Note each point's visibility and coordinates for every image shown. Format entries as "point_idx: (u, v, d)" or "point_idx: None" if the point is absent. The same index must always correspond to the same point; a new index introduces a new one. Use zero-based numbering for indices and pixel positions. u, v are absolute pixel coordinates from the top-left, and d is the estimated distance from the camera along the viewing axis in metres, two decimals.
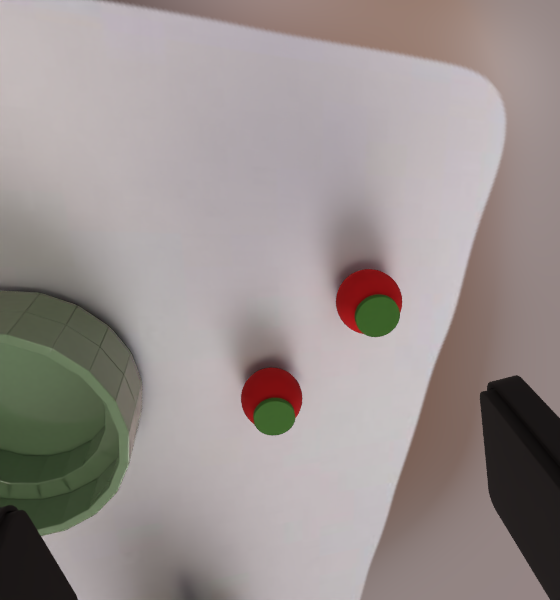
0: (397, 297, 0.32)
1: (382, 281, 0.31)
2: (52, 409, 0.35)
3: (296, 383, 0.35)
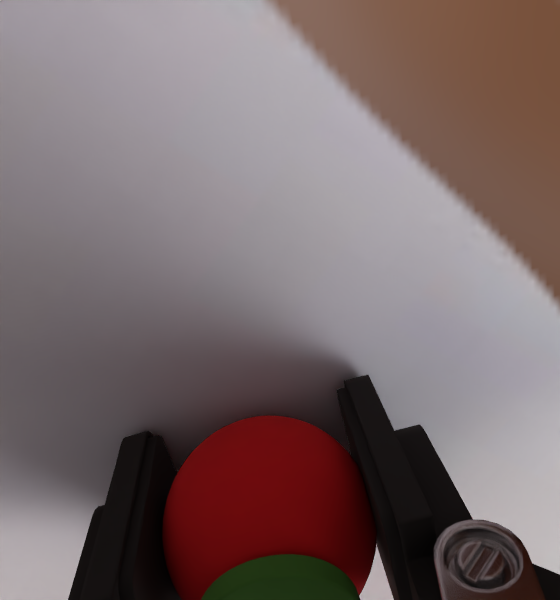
0: (286, 508, 0.08)
1: (204, 510, 0.09)
2: None
3: None
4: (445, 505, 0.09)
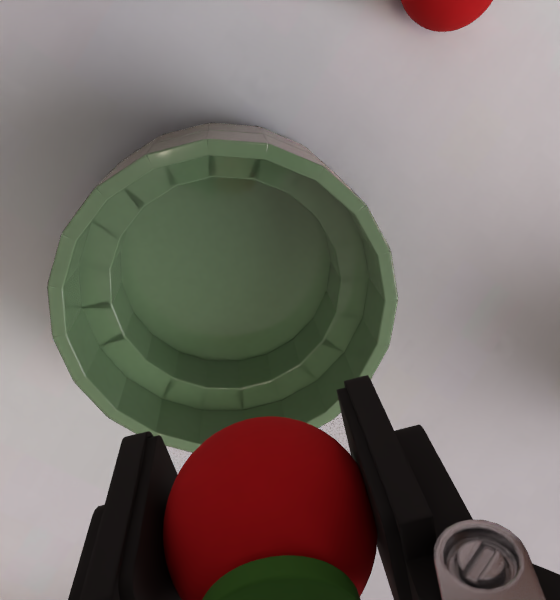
0: (287, 510, 0.08)
1: (205, 511, 0.09)
2: (264, 268, 0.27)
3: None
4: (445, 505, 0.09)
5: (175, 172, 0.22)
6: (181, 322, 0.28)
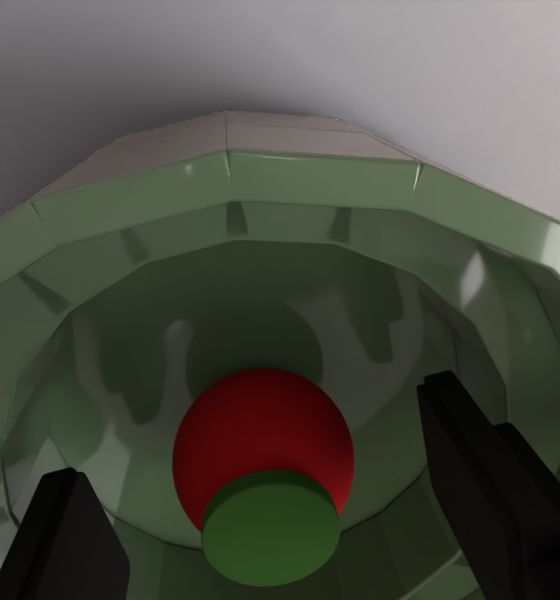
0: (276, 435, 0.10)
1: (208, 438, 0.10)
2: (331, 398, 0.14)
3: None
4: (557, 506, 0.08)
5: (143, 231, 0.09)
6: (169, 495, 0.15)
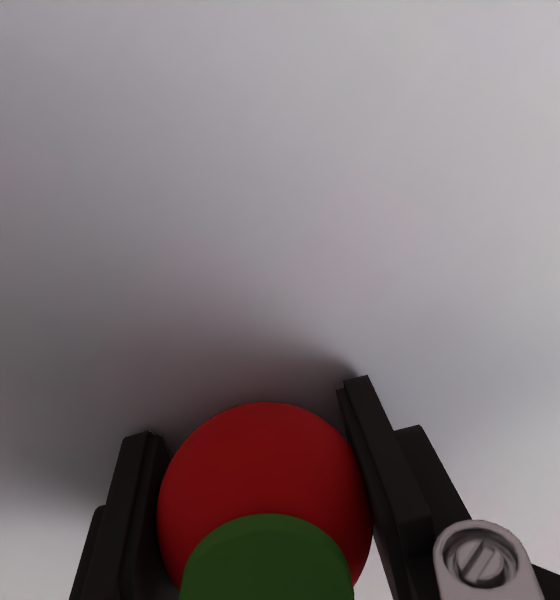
0: None
1: None
2: None
3: (261, 419, 0.09)
4: (445, 505, 0.09)
5: None
6: None
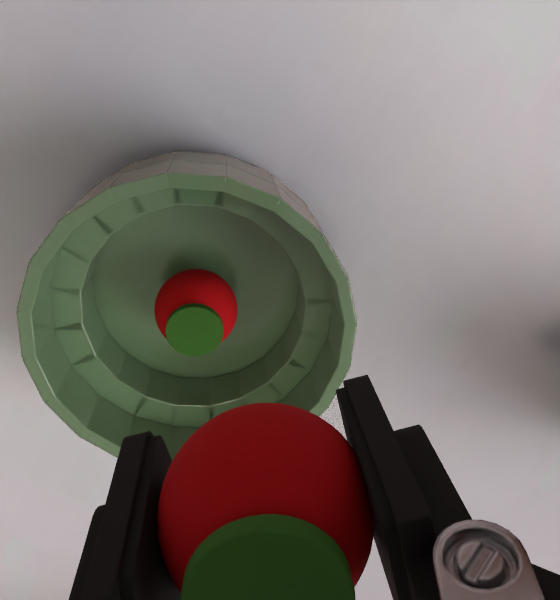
0: (197, 291, 0.24)
1: (169, 293, 0.25)
2: (234, 289, 0.28)
3: (262, 420, 0.09)
4: (444, 505, 0.09)
5: (142, 200, 0.23)
6: (154, 341, 0.29)
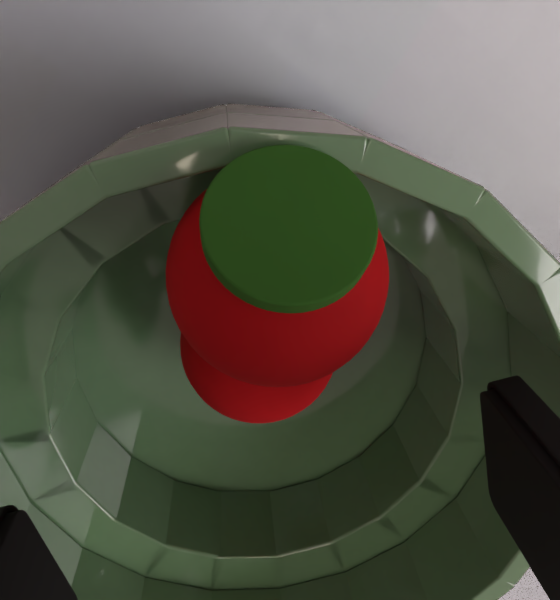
0: None
1: None
2: None
3: None
4: None
5: (162, 197, 0.11)
6: (178, 436, 0.17)
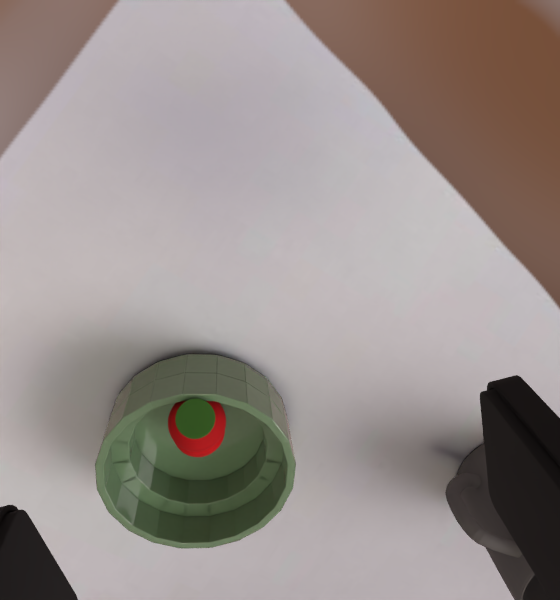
0: None
1: None
2: None
3: None
4: None
5: None
6: (172, 459, 0.44)
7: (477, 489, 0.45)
